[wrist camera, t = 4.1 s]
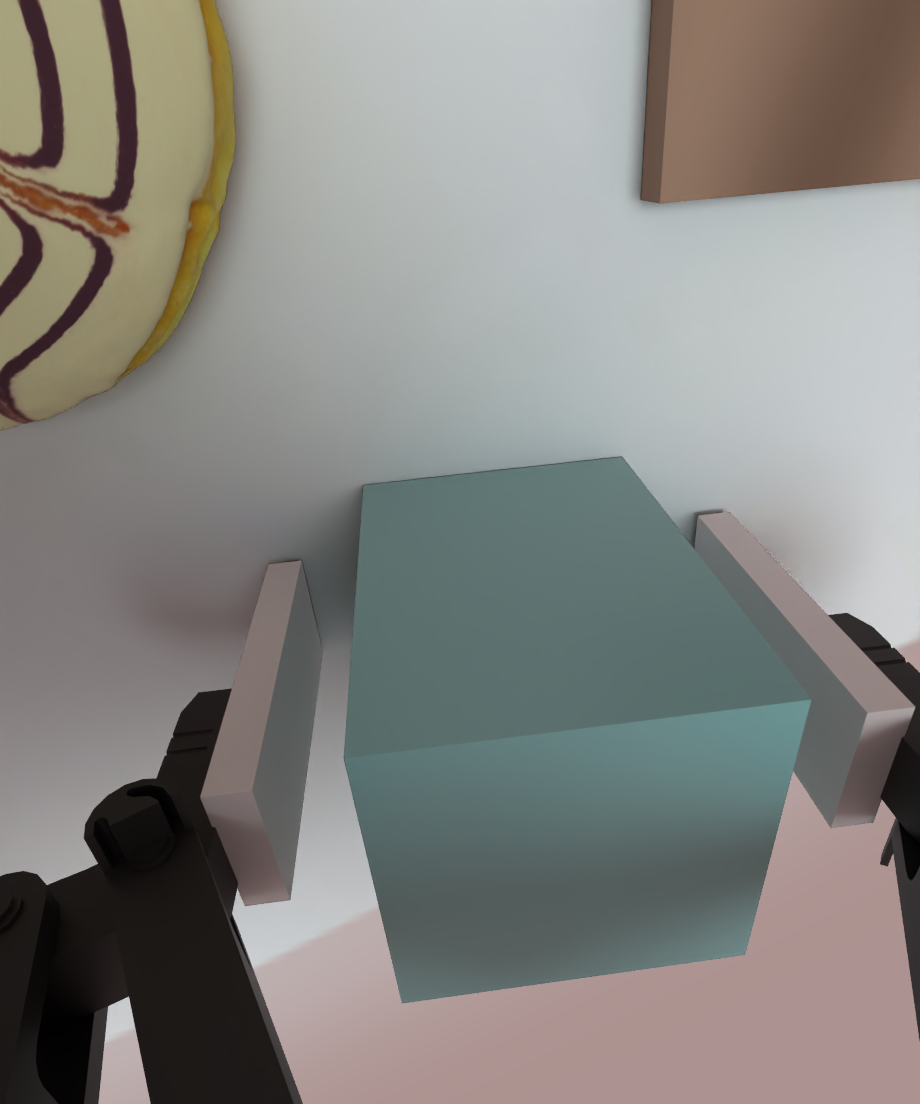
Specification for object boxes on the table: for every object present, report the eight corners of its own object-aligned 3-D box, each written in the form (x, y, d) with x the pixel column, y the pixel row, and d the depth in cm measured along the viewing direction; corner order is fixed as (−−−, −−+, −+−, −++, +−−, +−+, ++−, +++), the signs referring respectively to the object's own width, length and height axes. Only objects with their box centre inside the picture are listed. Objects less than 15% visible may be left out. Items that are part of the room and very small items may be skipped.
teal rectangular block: (396, 683, 18) (402, 1003, 11) (363, 485, 15) (343, 758, 8) (612, 657, 18) (744, 955, 11) (622, 456, 15) (811, 699, 8)
